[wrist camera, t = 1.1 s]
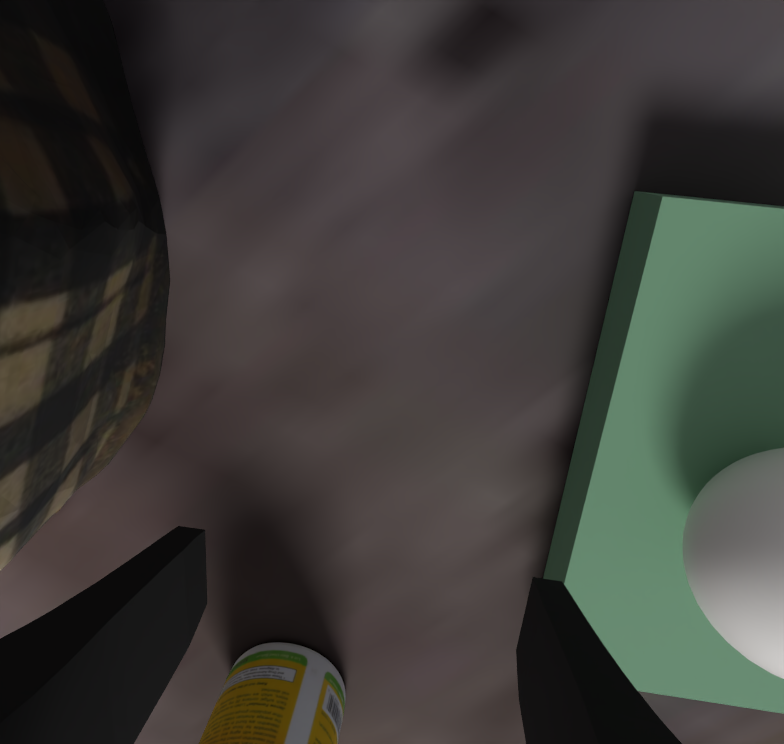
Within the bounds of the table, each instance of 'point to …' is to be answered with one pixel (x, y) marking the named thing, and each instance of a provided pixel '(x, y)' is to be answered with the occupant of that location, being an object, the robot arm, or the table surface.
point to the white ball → (741, 556)
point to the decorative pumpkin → (71, 260)
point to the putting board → (673, 435)
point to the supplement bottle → (278, 699)
